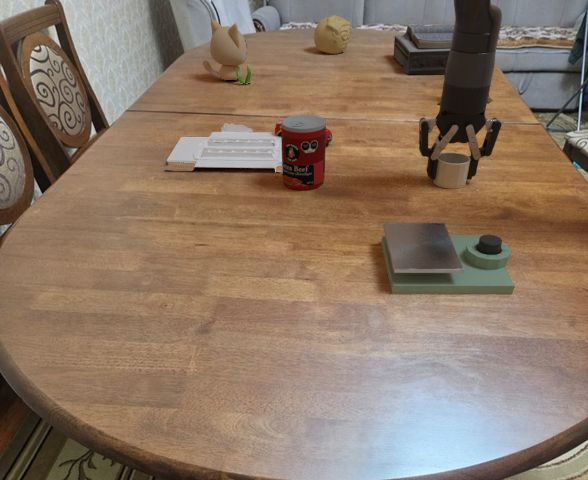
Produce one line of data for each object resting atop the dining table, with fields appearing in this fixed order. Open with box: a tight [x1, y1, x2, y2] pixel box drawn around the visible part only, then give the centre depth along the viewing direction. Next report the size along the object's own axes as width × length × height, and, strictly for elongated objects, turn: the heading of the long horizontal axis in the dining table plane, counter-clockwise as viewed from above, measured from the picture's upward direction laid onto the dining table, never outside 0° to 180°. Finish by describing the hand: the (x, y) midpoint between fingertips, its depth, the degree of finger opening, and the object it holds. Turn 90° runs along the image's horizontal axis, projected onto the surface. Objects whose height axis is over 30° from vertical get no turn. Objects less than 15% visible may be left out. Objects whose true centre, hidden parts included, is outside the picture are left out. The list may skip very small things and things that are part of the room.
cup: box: [432, 151, 471, 190], centre depth 100 cm, size 6×6×4 cm
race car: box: [274, 119, 333, 144], centre depth 117 cm, size 13×5×4 cm, turn 58°
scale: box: [380, 234, 515, 295], centre depth 77 cm, size 17×14×3 cm
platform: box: [382, 222, 464, 273], centre depth 76 cm, size 9×13×1 cm
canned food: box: [281, 114, 327, 191], centre depth 98 cm, size 8×8×11 cm
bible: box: [393, 24, 454, 76], centre depth 167 cm, size 23×27×10 cm
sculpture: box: [313, 14, 352, 55], centre depth 182 cm, size 11×12×11 cm
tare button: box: [477, 234, 503, 255], centre depth 76 cm, size 3×3×2 cm
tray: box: [166, 122, 282, 173], centre depth 113 cm, size 20×28×4 cm
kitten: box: [202, 18, 252, 84], centre depth 153 cm, size 15×10×15 cm
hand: (450, 177), depth 101 cm, fingers closed on cup, 6 cm apart
